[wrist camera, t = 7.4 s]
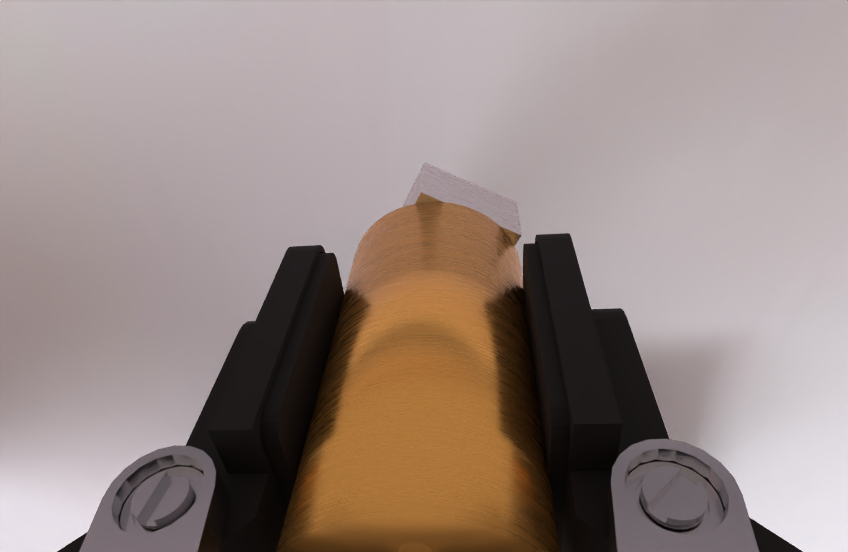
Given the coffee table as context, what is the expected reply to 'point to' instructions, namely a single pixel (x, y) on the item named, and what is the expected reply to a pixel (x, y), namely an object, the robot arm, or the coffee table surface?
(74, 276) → the coffee table surface
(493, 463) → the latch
